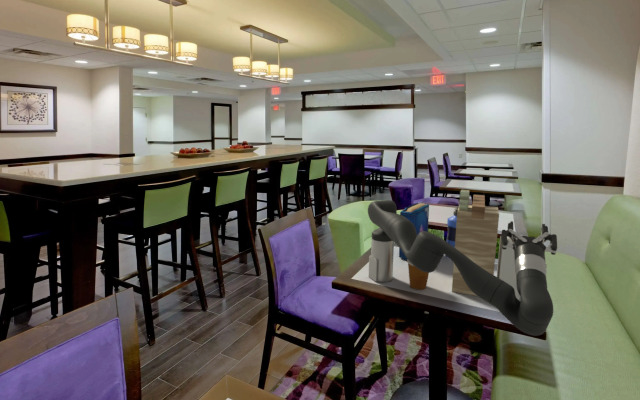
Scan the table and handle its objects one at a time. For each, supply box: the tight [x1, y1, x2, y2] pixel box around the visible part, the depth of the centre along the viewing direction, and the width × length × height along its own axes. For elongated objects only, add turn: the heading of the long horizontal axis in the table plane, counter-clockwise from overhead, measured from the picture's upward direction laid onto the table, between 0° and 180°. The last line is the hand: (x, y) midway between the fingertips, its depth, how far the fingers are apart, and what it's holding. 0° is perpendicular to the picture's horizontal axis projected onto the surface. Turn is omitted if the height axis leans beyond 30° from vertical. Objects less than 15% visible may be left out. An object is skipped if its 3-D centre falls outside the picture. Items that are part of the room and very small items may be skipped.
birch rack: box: [451, 189, 500, 297], centre depth 143 cm, size 14×14×39 cm
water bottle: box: [445, 206, 459, 259], centre depth 181 cm, size 9×9×25 cm
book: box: [398, 202, 430, 261], centre depth 183 cm, size 22×7×25 cm, turn 143°
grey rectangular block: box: [496, 235, 521, 301], centre depth 139 cm, size 15×7×20 cm, turn 157°
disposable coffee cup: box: [406, 259, 429, 291], centre depth 147 cm, size 10×10×12 cm
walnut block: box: [471, 194, 486, 219], centre depth 137 cm, size 26×4×4 cm, turn 157°
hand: (527, 224), depth 113 cm, fingers open, 8 cm apart
